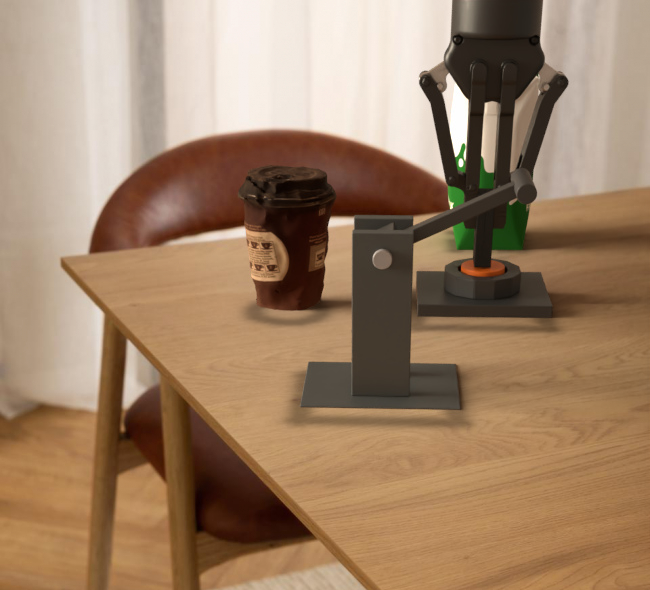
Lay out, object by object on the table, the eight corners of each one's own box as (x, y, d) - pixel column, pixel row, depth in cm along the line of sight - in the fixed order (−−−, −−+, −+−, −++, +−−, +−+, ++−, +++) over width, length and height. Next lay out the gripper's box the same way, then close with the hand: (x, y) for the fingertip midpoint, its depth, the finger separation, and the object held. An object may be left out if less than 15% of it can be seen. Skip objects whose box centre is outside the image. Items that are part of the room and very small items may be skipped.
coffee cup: (271, 333, 106) (267, 187, 100) (225, 307, 112) (219, 169, 106) (351, 314, 110) (352, 173, 104) (303, 291, 116) (301, 157, 110)
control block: (539, 293, 115) (542, 253, 113) (550, 329, 106) (554, 286, 104) (415, 292, 116) (416, 252, 114) (416, 327, 107) (418, 285, 105)
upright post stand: (455, 377, 96) (463, 208, 90) (459, 423, 88) (468, 242, 82) (308, 374, 97) (305, 207, 91) (300, 420, 89) (296, 240, 83)
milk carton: (532, 253, 127) (547, 56, 118) (447, 252, 127) (456, 56, 118) (523, 230, 135) (536, 44, 125) (443, 230, 135) (451, 44, 126)
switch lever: (535, 188, 87) (523, 158, 86) (542, 205, 83) (530, 174, 82) (373, 260, 90) (360, 232, 89) (371, 280, 86) (357, 251, 85)
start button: (501, 277, 111) (503, 259, 110) (505, 290, 108) (506, 272, 107) (459, 276, 112) (460, 258, 111) (461, 290, 108) (462, 271, 107)
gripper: (419, -11, 95) (410, 274, 106) (584, -11, 94) (557, 276, 105) (418, -19, 101) (410, 250, 112) (572, -19, 101) (548, 251, 112)
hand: (481, 262), depth 109 cm, fingers closed
